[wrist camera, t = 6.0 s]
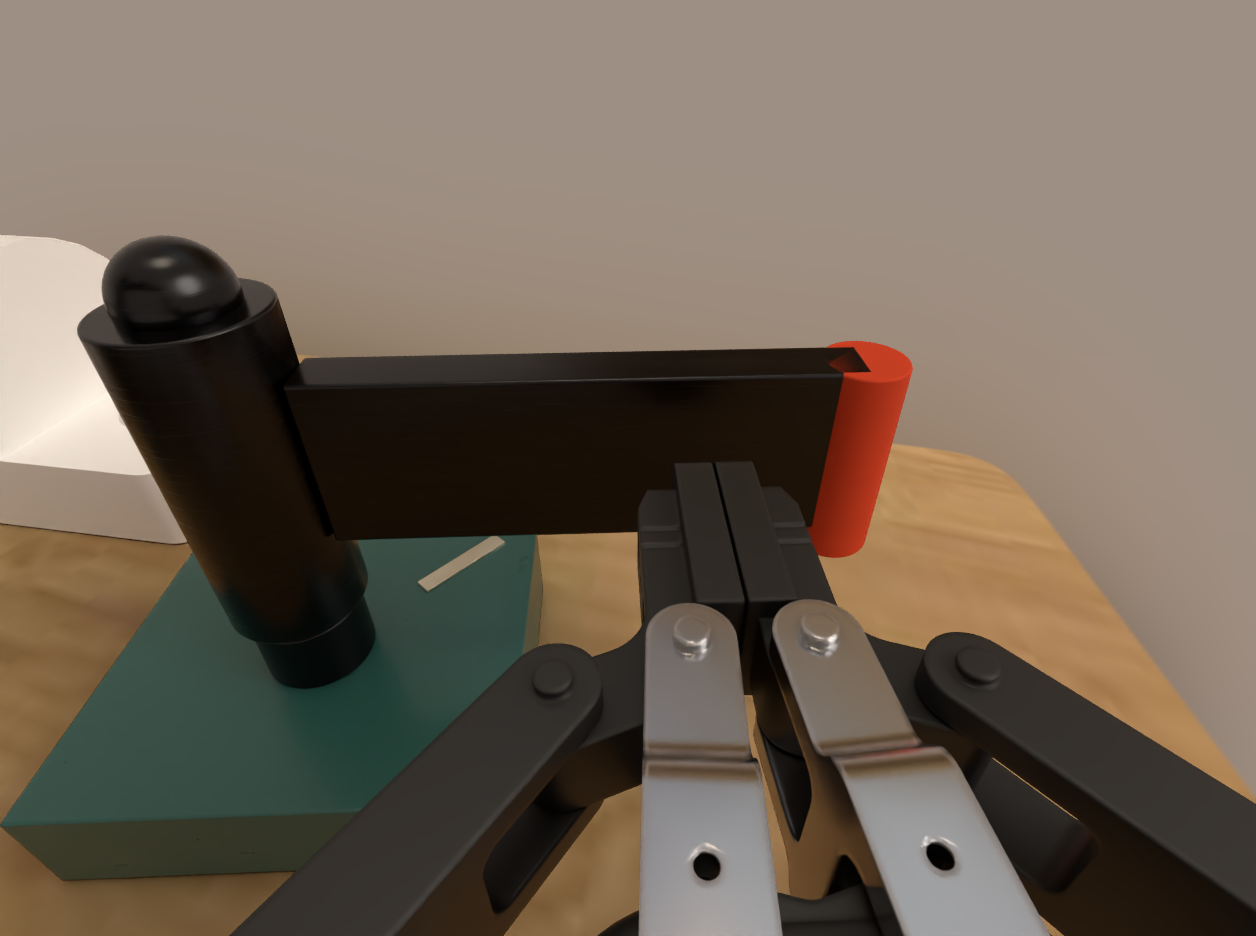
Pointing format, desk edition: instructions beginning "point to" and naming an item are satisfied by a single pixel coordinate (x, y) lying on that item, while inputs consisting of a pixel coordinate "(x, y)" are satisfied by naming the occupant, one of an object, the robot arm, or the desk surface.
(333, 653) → the stand
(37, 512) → the white slotted bracket
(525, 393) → the black l-shaped bar
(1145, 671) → the desk surface
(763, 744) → the robot arm
